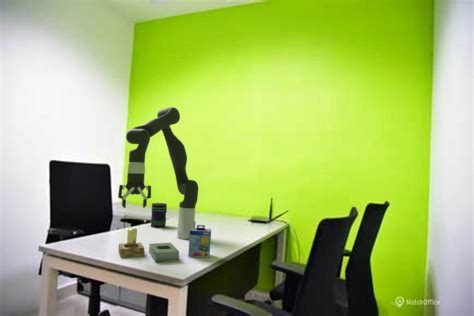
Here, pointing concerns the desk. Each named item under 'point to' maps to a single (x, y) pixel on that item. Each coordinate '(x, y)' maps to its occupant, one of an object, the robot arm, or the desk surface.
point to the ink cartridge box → (199, 242)
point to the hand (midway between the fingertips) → (134, 207)
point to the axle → (131, 237)
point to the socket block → (131, 250)
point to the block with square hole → (163, 252)
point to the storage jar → (158, 215)
